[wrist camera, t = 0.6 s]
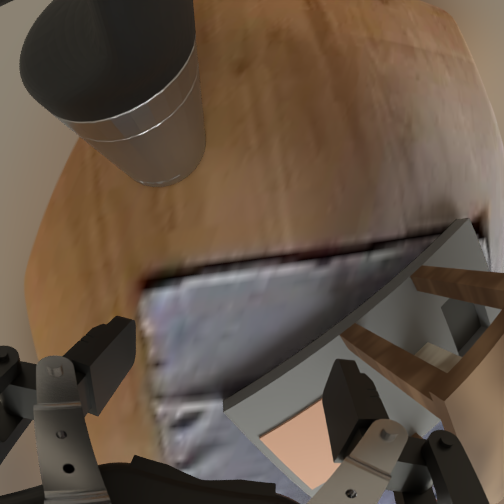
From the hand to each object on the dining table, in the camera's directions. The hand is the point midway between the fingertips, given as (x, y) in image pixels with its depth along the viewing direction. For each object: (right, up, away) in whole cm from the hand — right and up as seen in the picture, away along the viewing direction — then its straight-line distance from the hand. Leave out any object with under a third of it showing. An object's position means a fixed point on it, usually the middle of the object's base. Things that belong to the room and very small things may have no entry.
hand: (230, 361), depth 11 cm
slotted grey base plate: (+19, -11, +21) cm, 30 cm away
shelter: (+21, -10, +19) cm, 30 cm away
